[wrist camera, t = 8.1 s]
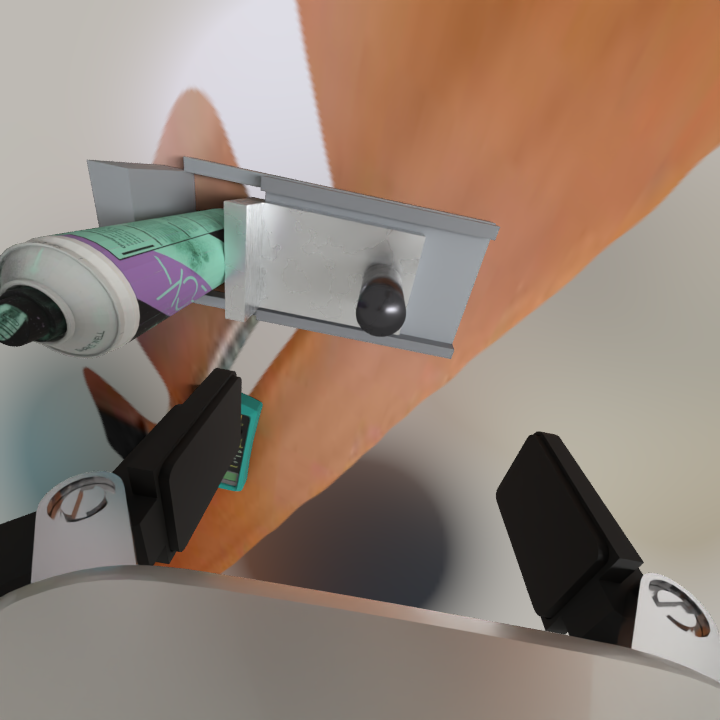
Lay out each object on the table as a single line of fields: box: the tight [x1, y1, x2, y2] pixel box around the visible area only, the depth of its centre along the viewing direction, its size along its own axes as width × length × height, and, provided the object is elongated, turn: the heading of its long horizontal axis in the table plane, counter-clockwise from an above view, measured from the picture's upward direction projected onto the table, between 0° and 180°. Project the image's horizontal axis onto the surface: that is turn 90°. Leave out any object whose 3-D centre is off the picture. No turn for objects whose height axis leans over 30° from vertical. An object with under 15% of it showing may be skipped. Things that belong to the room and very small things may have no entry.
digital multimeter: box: [218, 393, 263, 491], centre depth 40 cm, size 7×15×3 cm, turn 162°
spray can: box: [0, 208, 225, 359], centre depth 21 cm, size 6×6×20 cm
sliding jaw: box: [224, 197, 426, 337], centre depth 25 cm, size 8×14×9 cm, turn 79°
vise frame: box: [87, 157, 500, 359], centre depth 26 cm, size 12×28×8 cm, turn 79°
